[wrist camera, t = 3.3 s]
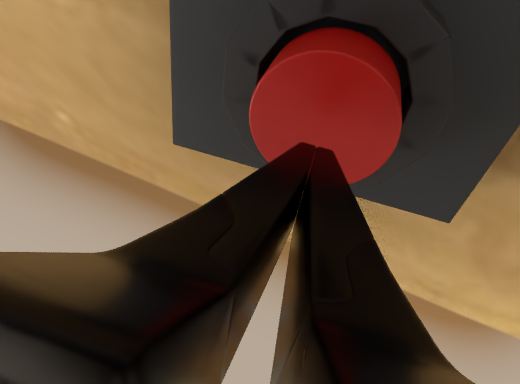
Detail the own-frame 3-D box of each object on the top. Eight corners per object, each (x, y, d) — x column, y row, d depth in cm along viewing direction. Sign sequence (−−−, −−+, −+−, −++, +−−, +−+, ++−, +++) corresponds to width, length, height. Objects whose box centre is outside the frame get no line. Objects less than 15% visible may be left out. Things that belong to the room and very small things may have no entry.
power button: (425, 46, 10) (431, 74, 9) (372, 165, 13) (369, 203, 12) (277, 11, 11) (258, 32, 9) (258, 134, 14) (240, 166, 12)
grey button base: (597, -57, 11) (684, -32, 8) (443, 186, 18) (454, 255, 14) (200, -133, 13) (132, -141, 9) (195, 117, 19) (154, 165, 16)
